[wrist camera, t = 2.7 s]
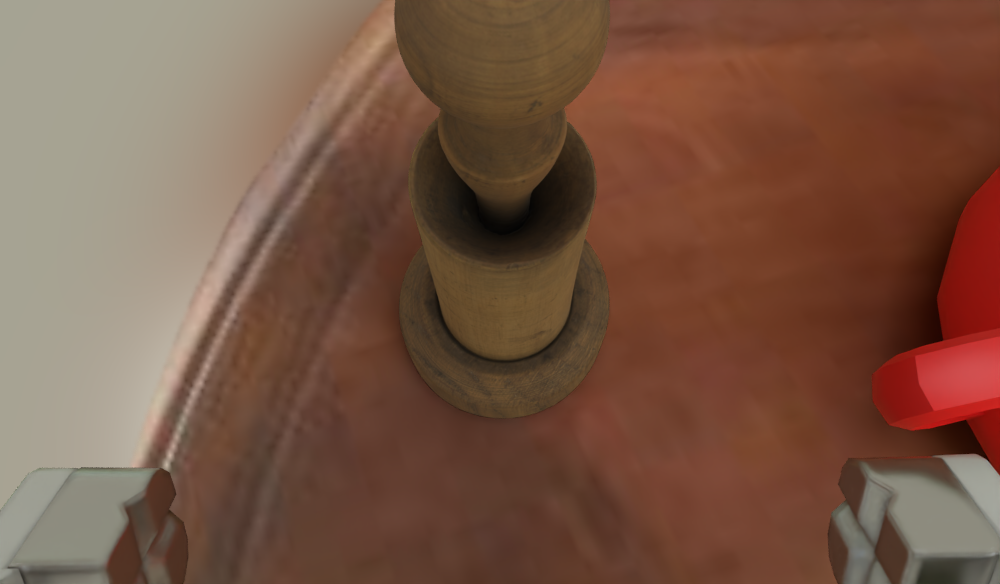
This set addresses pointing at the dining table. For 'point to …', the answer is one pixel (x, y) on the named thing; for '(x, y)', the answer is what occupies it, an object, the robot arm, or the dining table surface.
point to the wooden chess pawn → (502, 202)
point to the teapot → (957, 339)
